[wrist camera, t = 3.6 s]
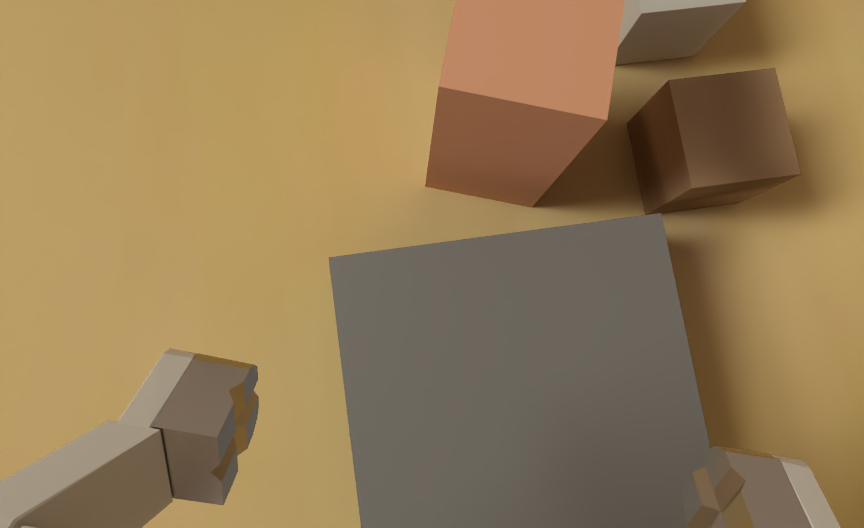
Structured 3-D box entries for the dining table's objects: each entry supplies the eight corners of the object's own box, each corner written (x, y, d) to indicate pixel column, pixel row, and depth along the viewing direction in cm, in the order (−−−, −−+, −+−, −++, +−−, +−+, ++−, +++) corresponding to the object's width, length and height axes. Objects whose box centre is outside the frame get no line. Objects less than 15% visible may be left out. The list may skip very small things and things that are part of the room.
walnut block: (644, 215, 27) (692, 188, 23) (625, 124, 28) (668, 80, 23) (736, 203, 28) (801, 174, 23) (716, 113, 28) (775, 67, 24)
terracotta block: (531, 207, 27) (607, 120, 17) (425, 186, 27) (438, 86, 17) (548, 106, 28) (629, -32, 18) (444, 85, 28) (468, -65, 18)
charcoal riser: (378, 584, 24) (373, 628, 20) (339, 273, 26) (328, 257, 22) (682, 530, 25) (734, 563, 21) (622, 234, 27) (661, 213, 23)
